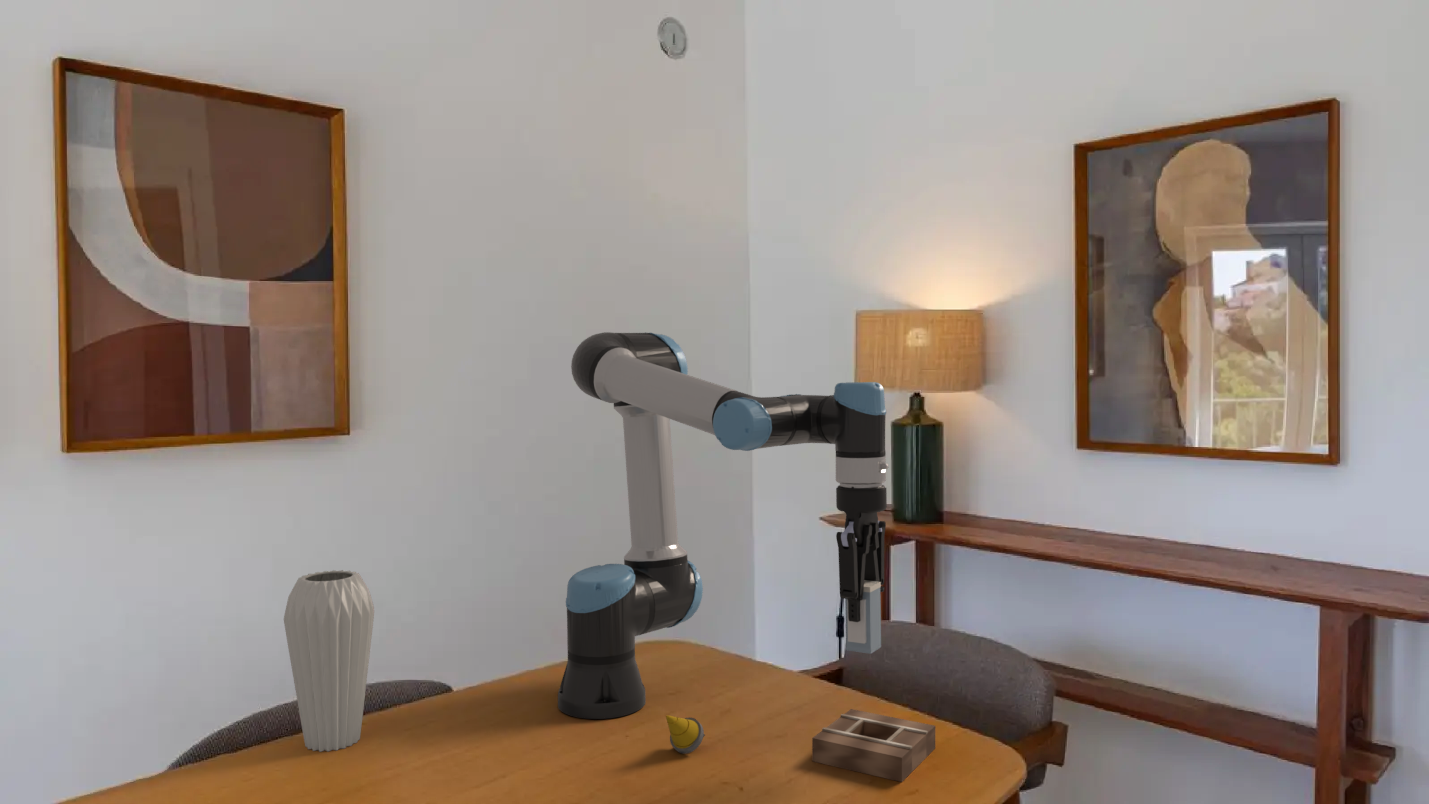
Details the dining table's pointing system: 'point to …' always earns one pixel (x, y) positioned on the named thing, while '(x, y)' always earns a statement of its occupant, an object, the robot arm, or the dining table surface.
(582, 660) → the robot arm
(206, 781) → the dining table surface
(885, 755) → the socket block
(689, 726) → the yellow spinning top
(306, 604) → the vase
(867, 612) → the peg
